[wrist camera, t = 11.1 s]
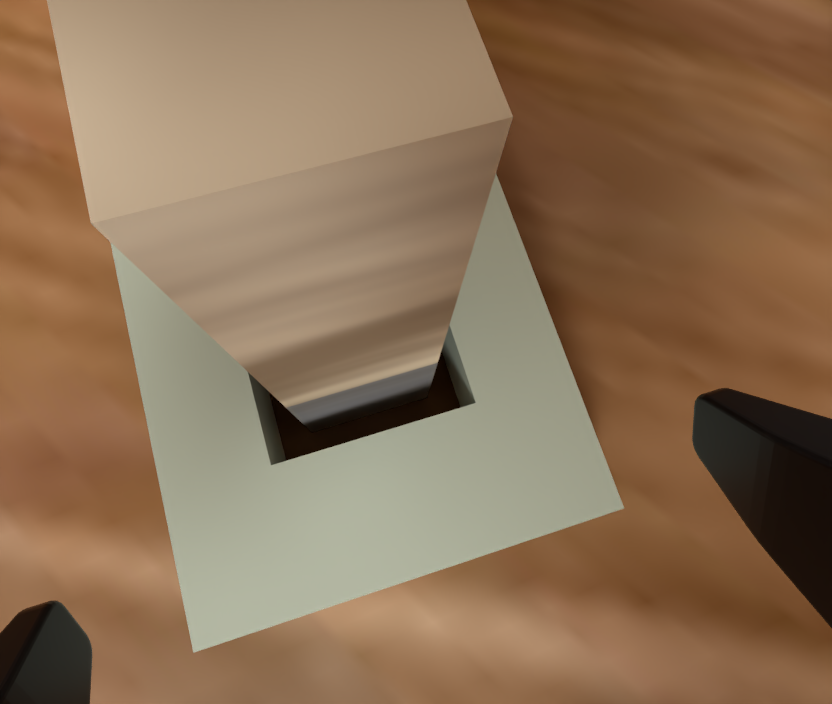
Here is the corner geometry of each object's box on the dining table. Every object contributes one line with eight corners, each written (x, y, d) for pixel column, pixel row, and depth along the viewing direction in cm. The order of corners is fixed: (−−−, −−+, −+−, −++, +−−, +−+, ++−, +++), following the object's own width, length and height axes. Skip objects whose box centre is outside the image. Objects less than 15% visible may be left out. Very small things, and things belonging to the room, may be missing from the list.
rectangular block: (427, 397, 20) (512, 116, 6) (312, 432, 20) (91, 223, 5) (392, 290, 21) (392, -184, 7) (282, 321, 21) (25, -113, 6)
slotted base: (589, 508, 20) (624, 508, 17) (225, 630, 18) (193, 652, 15) (455, 144, 23) (464, 91, 20) (138, 225, 21) (98, 181, 19)
